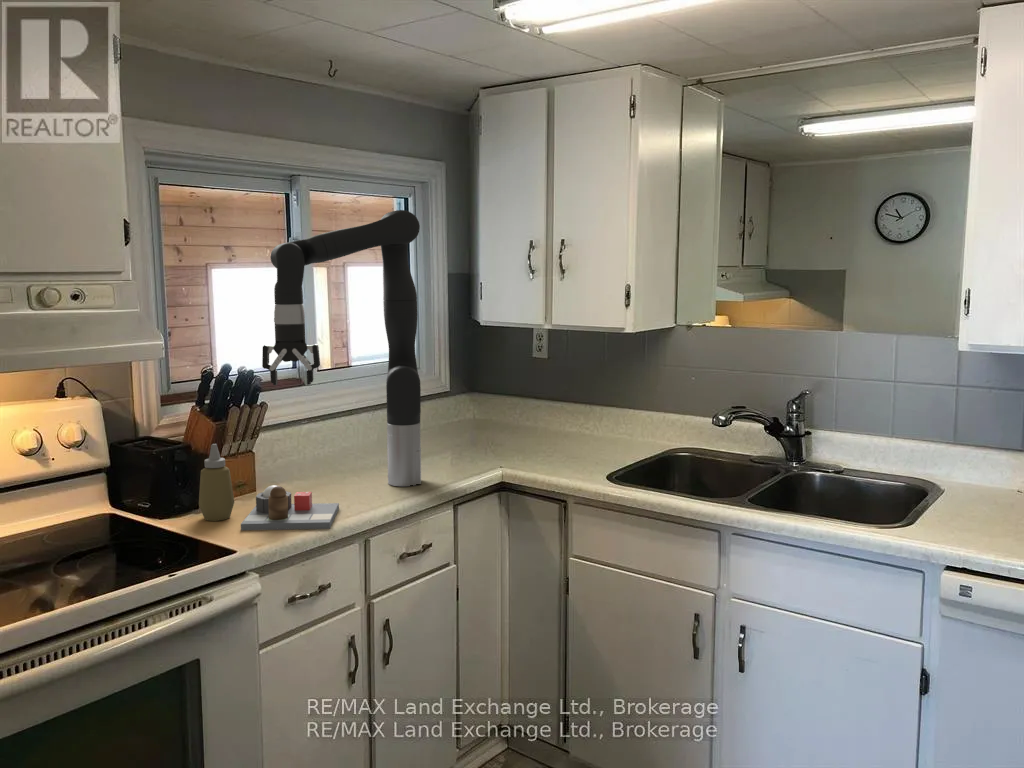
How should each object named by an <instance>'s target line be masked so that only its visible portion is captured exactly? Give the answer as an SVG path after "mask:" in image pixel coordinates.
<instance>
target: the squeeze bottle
mask: <svg viewBox="0 0 1024 768" xmlns="http://www.w3.org/2000/svg"><path fill="white" fill-rule="evenodd" d="M232 483H233V482H232V478H231V471H230V468H229V467H227V466H226V459H225V458H224V457H221V454H220V451H219V448H218V444H217V443H212V444H211V445H210V450H209V456H208V458H206V459H204V468H202V469H201V470H200V480H199V494H198V506H199V509H200V512H201V514H202V516H203V518H204V520H205V521H208V522H209V521H210V522H218V521H224V520H227V519H229V518H230V517H231V515H232V512H233V508H234V505H235V498H234V491H233V484H232Z"/></svg>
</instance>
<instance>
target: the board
mask: <svg viewBox="0 0 1024 768" xmlns="http://www.w3.org/2000/svg"><path fill="white" fill-rule="evenodd" d="M285 491H286V495H288V518H286V519H282V520H271V519H269V504H268V498H264V497H263V493H264V491H262V492H258V493H257V494H256V496H255V506H254V507H253V508H252V510H251V511H250V513H249V514H247V516H246V517H245V518H244V519H243V520H242V521H241V523H240V531H267V530H268V531H271V530H272V531H274V530H321V529H322V530H325V529H326V530H327V529H331V526H332V525H333V523H334V521H335V519H336V516H337V514H338V512H339V510H340V504H339V502H337V503H336V502H333V503H331V502H328V503H325V502H324V503H323V502H322V503H320V502H319V503H312V507H311V509H310V510H295V509H294V503H292V492H291V491H287V490H285Z"/></svg>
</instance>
